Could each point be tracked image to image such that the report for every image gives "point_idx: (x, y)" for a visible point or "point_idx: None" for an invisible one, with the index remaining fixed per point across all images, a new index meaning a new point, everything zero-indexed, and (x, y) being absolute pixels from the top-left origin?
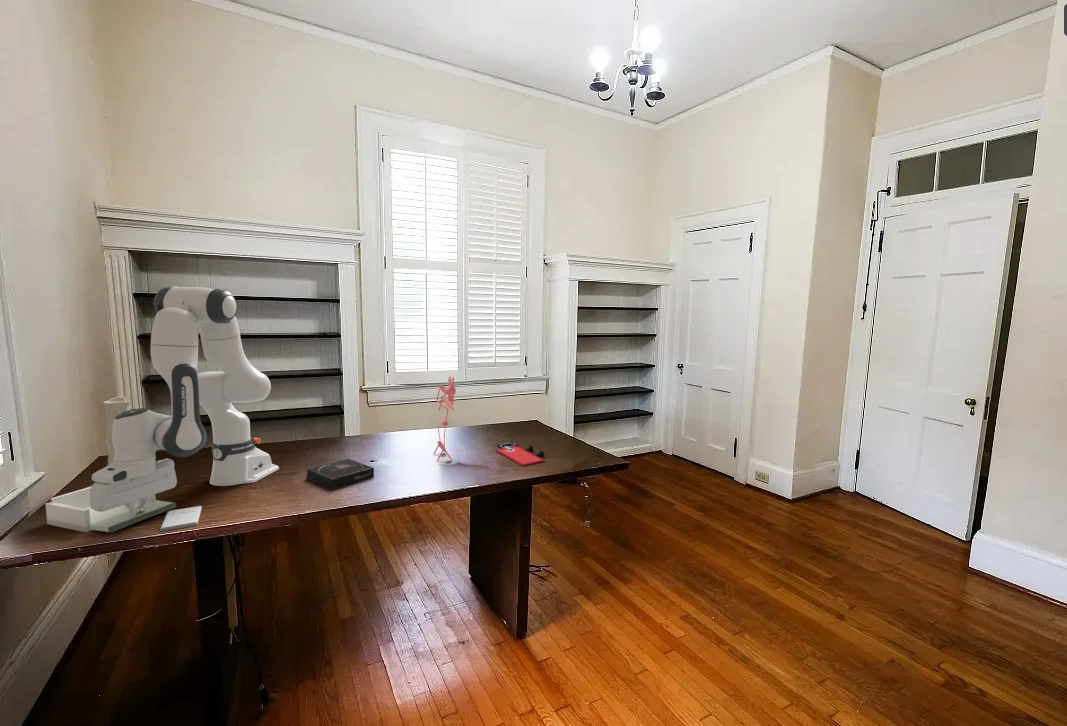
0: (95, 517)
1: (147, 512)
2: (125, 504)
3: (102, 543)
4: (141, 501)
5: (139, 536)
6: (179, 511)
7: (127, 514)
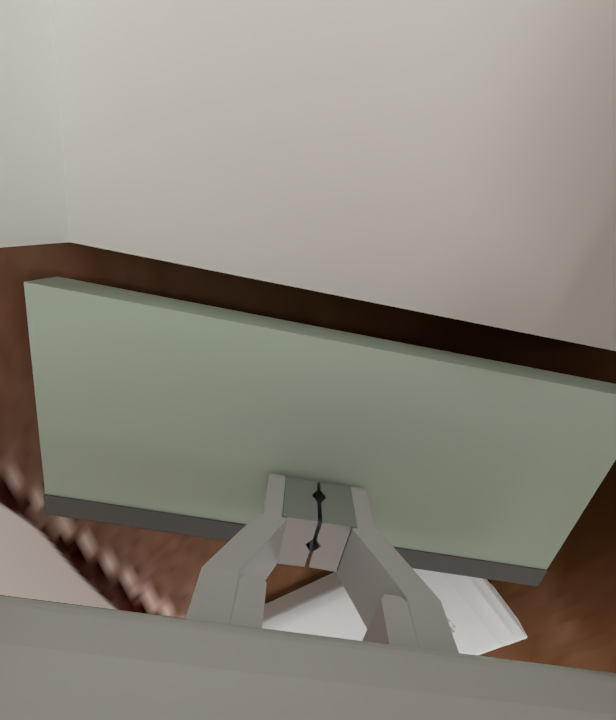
0: (223, 83)
1: None
2: (197, 592)
3: (18, 490)
4: (384, 581)
5: (151, 584)
6: (444, 598)
7: (297, 420)
